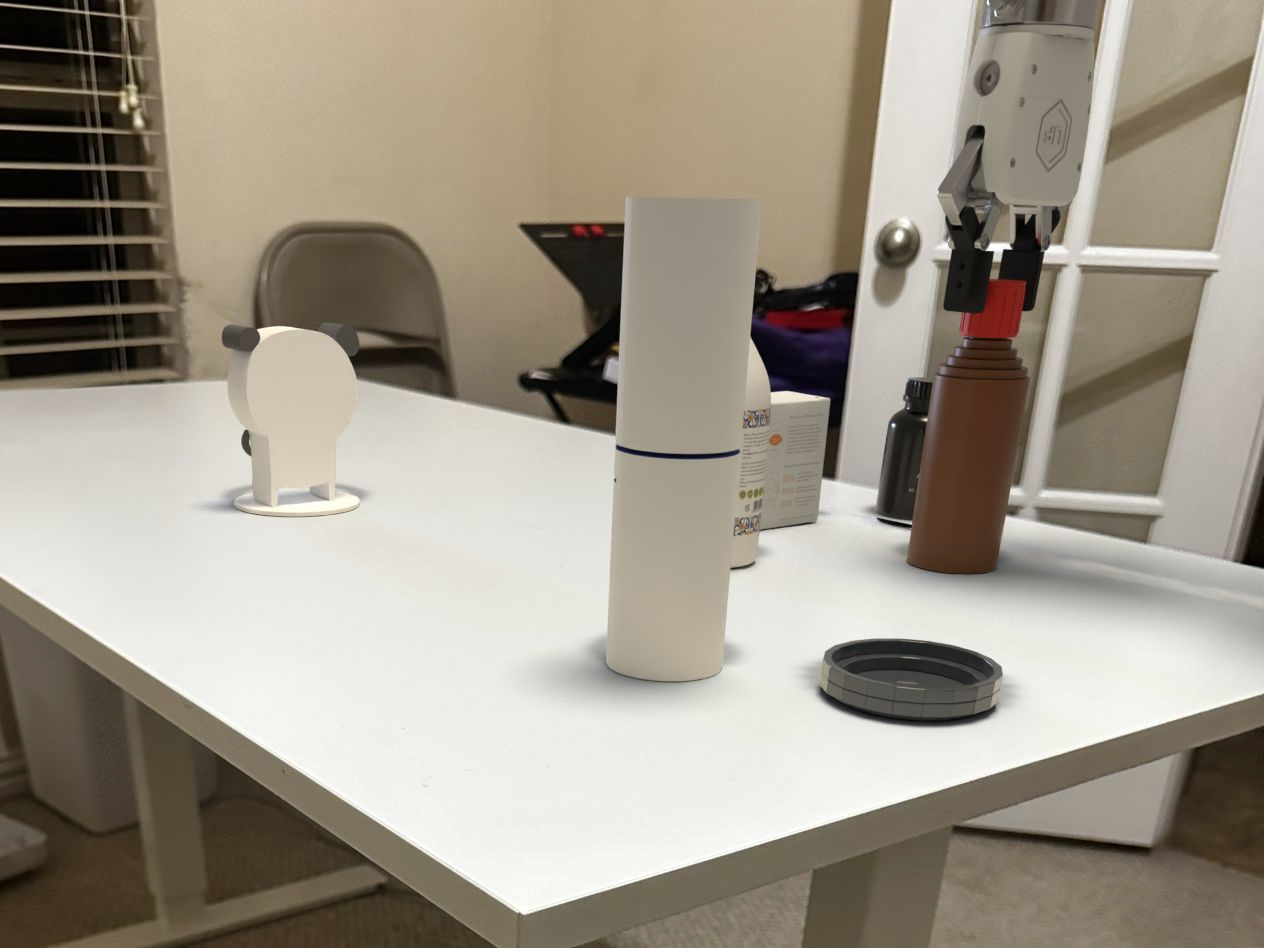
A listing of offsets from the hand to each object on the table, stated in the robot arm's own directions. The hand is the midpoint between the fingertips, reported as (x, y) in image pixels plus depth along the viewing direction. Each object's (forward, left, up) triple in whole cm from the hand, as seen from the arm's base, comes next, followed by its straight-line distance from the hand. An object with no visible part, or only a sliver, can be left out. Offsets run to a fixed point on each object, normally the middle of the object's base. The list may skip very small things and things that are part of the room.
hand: (988, 308), depth 101 cm
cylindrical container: (-6, +38, -19) cm, 43 cm away
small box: (+20, 0, -19) cm, 27 cm away
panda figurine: (+50, +30, -19) cm, 61 cm away
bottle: (0, 0, -18) cm, 19 cm away
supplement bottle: (+12, -11, -19) cm, 25 cm away
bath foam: (+12, +15, -19) cm, 27 cm away
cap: (0, 0, -2) cm, 2 cm away
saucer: (-19, +31, -18) cm, 41 cm away
